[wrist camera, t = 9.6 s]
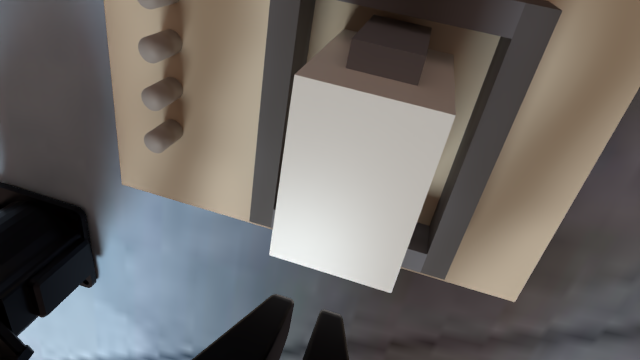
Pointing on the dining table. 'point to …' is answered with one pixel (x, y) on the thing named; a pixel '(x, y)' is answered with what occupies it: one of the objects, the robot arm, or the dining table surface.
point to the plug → (362, 150)
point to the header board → (462, 143)
